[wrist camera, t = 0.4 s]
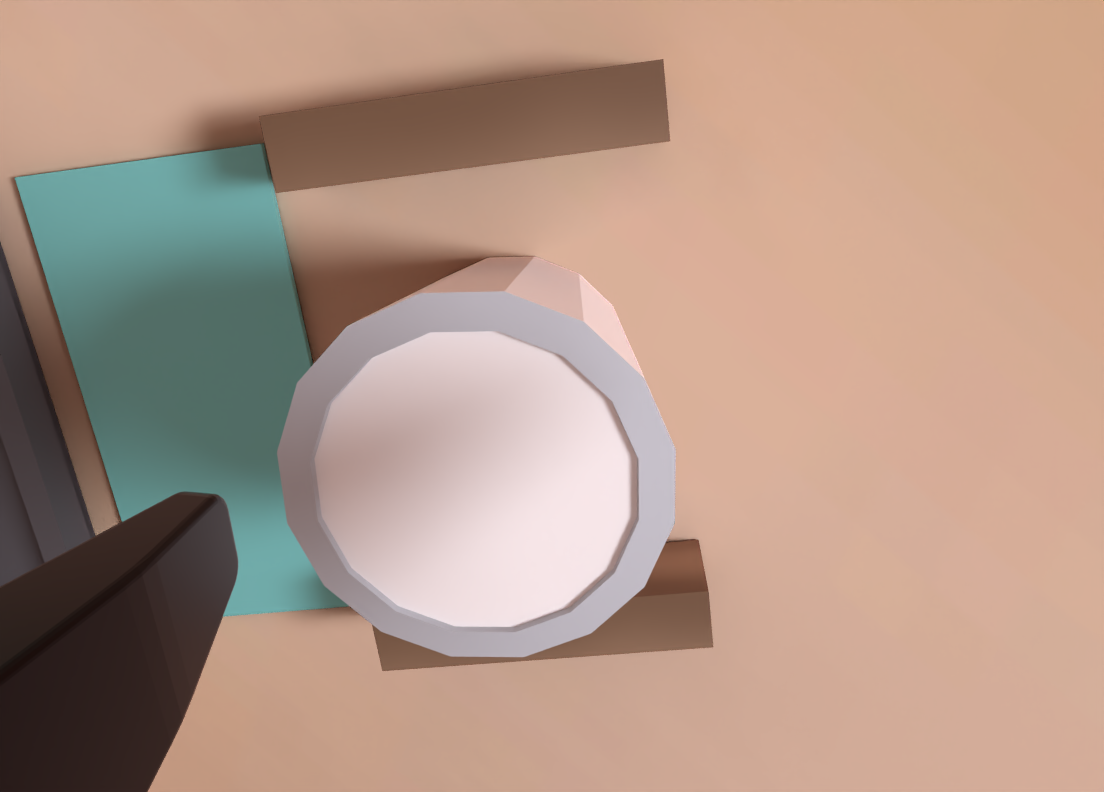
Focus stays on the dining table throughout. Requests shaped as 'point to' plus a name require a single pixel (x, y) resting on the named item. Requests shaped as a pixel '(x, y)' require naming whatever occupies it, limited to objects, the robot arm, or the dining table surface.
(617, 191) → the dining table surface
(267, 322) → the teal pad
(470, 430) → the white cup
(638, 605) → the brown bar
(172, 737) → the robot arm
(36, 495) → the trap pit
